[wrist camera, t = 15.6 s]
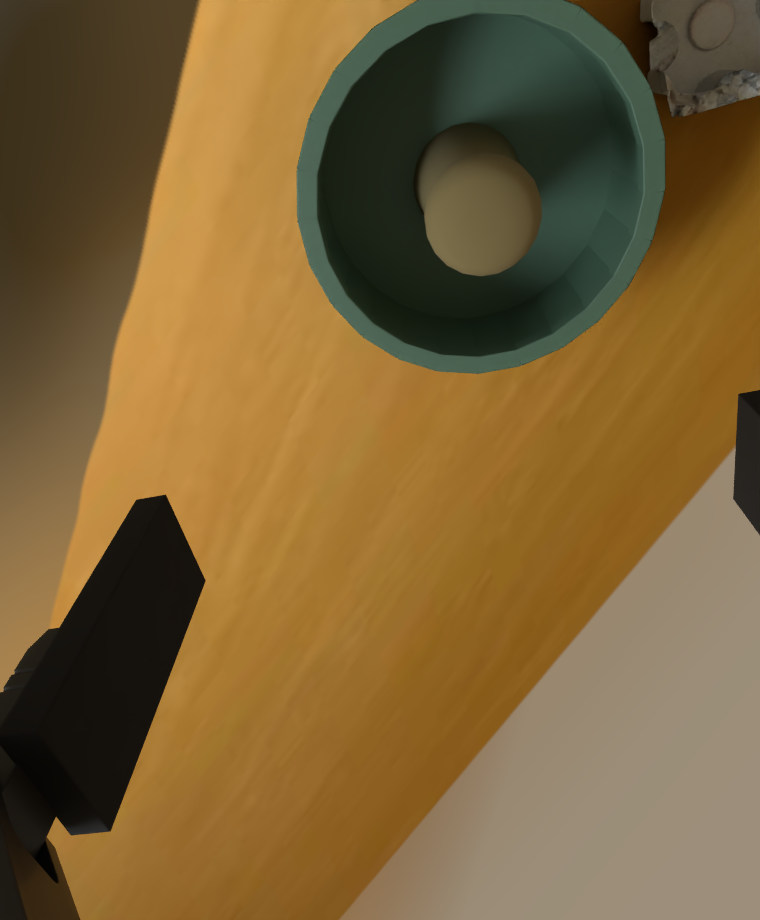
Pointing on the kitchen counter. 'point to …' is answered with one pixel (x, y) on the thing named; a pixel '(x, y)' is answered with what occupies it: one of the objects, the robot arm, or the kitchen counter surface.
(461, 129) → the cork
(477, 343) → the green round bowl
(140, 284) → the kitchen counter surface
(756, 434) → the robot arm
